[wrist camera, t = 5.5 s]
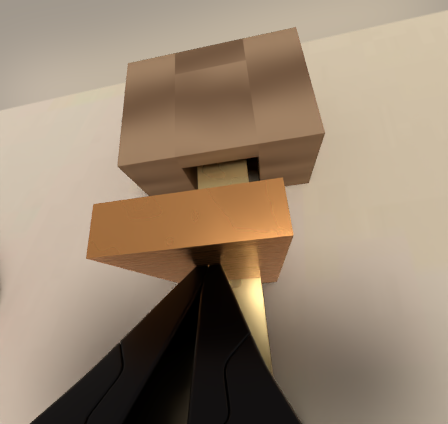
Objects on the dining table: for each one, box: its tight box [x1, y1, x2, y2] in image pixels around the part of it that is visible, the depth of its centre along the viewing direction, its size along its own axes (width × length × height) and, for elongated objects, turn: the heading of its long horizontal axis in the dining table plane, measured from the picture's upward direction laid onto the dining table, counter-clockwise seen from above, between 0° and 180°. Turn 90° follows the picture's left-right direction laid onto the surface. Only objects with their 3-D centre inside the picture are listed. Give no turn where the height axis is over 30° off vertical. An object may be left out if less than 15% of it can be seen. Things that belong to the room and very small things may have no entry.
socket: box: [118, 27, 325, 196], centre depth 17 cm, size 8×11×6 cm
